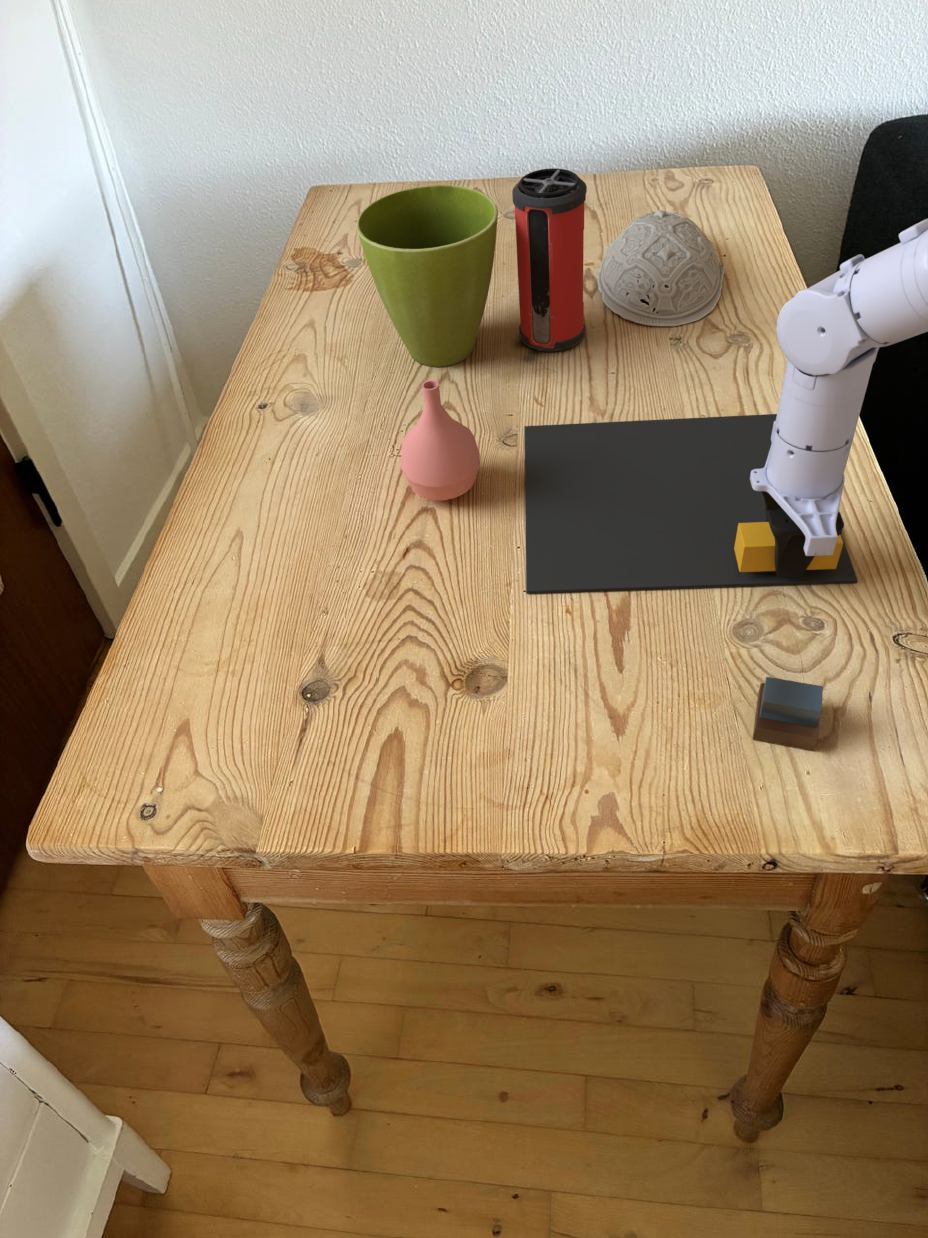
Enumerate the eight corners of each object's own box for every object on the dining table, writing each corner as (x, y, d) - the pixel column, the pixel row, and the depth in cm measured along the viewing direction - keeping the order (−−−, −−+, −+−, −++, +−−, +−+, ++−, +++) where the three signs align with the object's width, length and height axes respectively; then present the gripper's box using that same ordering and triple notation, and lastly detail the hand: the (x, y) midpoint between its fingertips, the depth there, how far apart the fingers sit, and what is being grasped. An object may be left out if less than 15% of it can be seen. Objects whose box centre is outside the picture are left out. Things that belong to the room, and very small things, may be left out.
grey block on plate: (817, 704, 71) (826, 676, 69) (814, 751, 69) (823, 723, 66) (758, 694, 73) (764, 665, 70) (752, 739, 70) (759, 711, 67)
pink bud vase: (390, 501, 92) (370, 397, 83) (431, 457, 96) (416, 354, 88) (457, 523, 89) (445, 418, 80) (496, 476, 93) (488, 372, 84)
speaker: (509, 348, 109) (500, 192, 96) (533, 315, 113) (528, 161, 100) (572, 358, 106) (571, 199, 93) (594, 324, 111) (596, 167, 98)
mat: (799, 415, 96) (799, 412, 95) (856, 583, 80) (857, 579, 79) (524, 429, 98) (524, 425, 98) (526, 594, 82) (526, 590, 82)
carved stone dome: (593, 322, 110) (600, 266, 105) (600, 234, 127) (607, 182, 122) (727, 334, 109) (740, 278, 104) (715, 243, 126) (727, 192, 121)
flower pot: (516, 375, 105) (509, 236, 93) (385, 396, 104) (362, 258, 93) (493, 309, 115) (484, 176, 103) (373, 327, 115) (351, 196, 103)
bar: (828, 544, 81) (835, 518, 79) (836, 569, 79) (843, 543, 77) (733, 548, 82) (738, 522, 80) (739, 572, 80) (744, 546, 78)
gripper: (744, 377, 76) (724, 505, 86) (778, 493, 66) (751, 623, 76) (834, 372, 75) (803, 502, 85) (881, 488, 65) (841, 620, 75)
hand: (784, 559), depth 81 cm, fingers closed on bar, 3 cm apart
